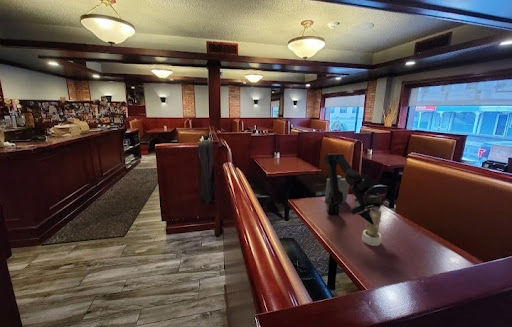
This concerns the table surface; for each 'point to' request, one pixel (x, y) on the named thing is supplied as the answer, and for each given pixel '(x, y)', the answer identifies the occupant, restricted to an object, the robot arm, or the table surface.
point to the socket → (371, 239)
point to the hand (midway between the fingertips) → (376, 223)
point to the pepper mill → (375, 215)
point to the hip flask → (342, 187)
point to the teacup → (356, 202)
